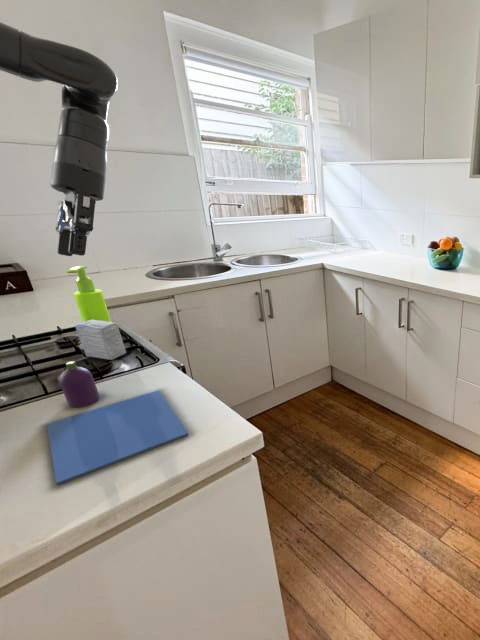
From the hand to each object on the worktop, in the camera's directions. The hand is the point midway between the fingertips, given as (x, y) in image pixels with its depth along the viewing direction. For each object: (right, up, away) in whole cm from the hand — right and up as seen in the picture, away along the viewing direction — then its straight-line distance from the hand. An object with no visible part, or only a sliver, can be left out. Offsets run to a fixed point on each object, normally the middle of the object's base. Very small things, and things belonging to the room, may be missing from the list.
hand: (70, 254), depth 72 cm
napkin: (+11, -33, -2) cm, 34 cm away
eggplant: (-3, -29, +6) cm, 29 cm away
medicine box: (-14, -20, +25) cm, 35 cm away
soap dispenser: (-23, -15, +35) cm, 45 cm away
